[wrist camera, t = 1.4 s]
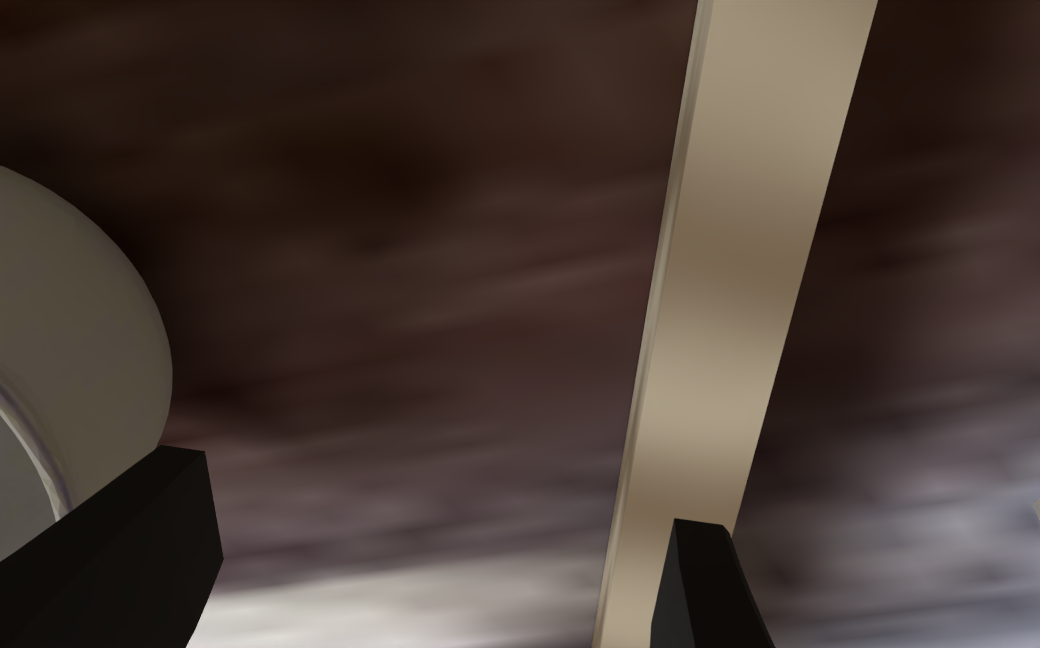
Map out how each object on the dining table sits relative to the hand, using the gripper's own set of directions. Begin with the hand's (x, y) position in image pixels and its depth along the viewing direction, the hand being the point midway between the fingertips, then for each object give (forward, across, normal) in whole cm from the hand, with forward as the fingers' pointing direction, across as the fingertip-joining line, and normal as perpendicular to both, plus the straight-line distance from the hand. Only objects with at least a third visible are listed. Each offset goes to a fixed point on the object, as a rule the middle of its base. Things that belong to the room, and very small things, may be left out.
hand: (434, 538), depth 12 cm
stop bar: (+10, -4, +6) cm, 13 cm away
